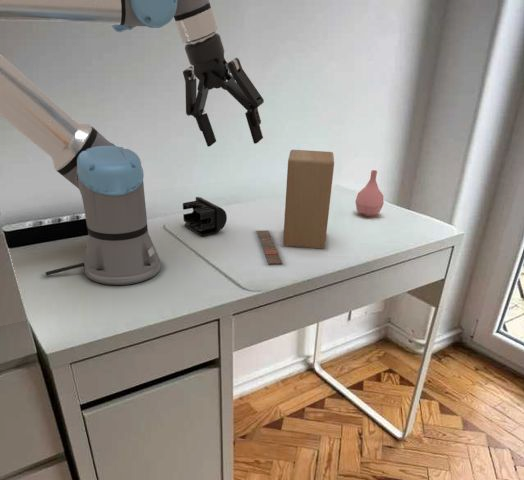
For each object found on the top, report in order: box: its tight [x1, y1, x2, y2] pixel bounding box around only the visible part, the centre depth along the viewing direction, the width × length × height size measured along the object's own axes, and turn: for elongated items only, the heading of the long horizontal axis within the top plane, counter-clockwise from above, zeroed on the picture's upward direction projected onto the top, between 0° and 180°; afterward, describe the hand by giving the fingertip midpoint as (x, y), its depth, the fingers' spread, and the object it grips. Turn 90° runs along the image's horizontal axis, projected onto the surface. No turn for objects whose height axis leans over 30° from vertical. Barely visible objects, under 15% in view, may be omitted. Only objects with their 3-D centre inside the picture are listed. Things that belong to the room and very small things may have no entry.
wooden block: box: [282, 149, 335, 249], centre depth 117 cm, size 10×10×20 cm
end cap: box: [182, 196, 228, 238], centre depth 125 cm, size 10×7×7 cm
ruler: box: [256, 230, 283, 266], centre depth 118 cm, size 20×3×1 cm, turn 8°
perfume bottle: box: [355, 169, 384, 217], centre depth 137 cm, size 8×8×12 cm
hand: (234, 142), depth 113 cm, fingers open, 13 cm apart
